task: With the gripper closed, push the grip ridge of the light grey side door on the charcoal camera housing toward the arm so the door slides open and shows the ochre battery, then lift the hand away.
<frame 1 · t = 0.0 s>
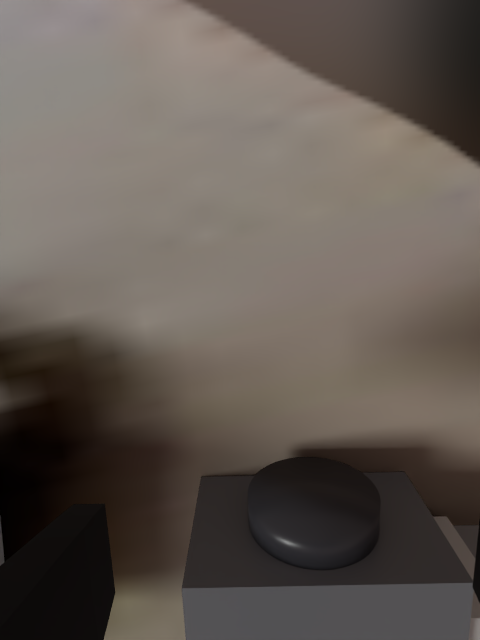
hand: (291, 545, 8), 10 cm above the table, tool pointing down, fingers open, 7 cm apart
camera housing: (313, 637, 21), on the table
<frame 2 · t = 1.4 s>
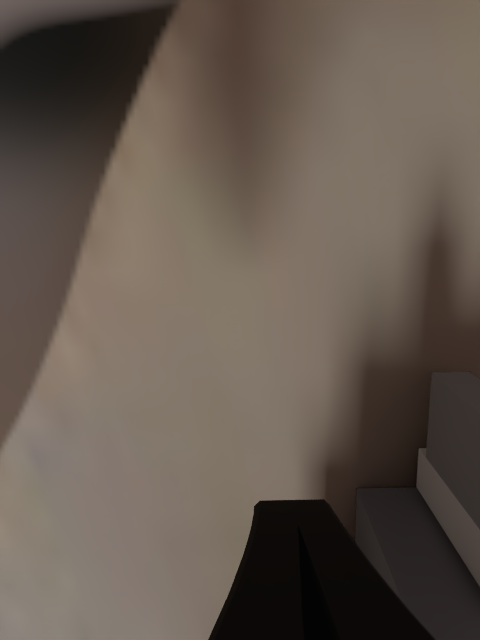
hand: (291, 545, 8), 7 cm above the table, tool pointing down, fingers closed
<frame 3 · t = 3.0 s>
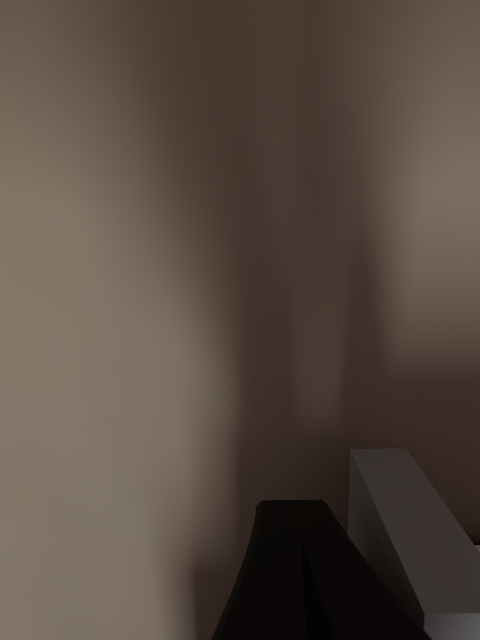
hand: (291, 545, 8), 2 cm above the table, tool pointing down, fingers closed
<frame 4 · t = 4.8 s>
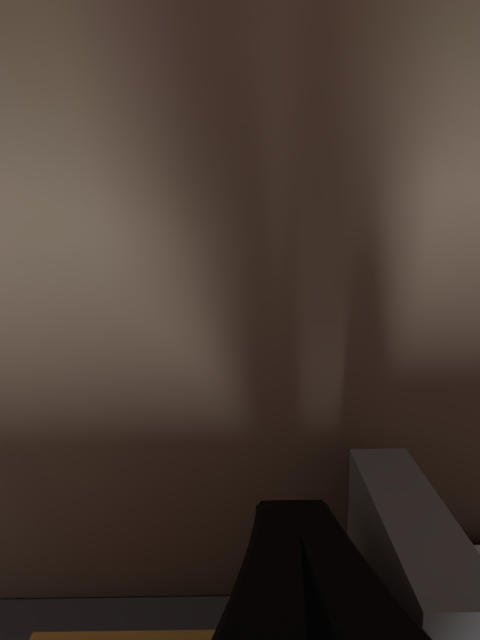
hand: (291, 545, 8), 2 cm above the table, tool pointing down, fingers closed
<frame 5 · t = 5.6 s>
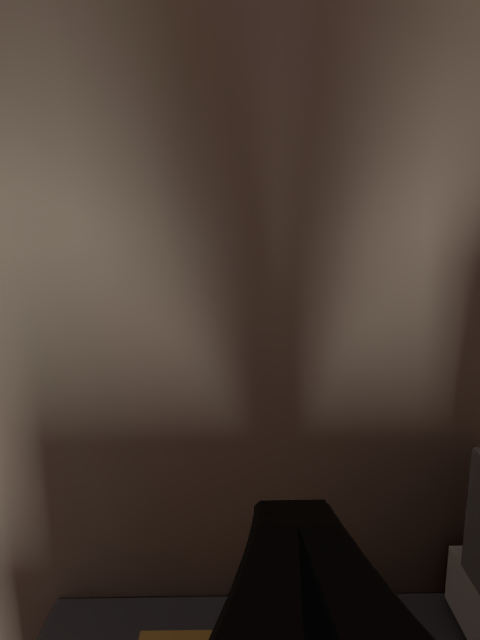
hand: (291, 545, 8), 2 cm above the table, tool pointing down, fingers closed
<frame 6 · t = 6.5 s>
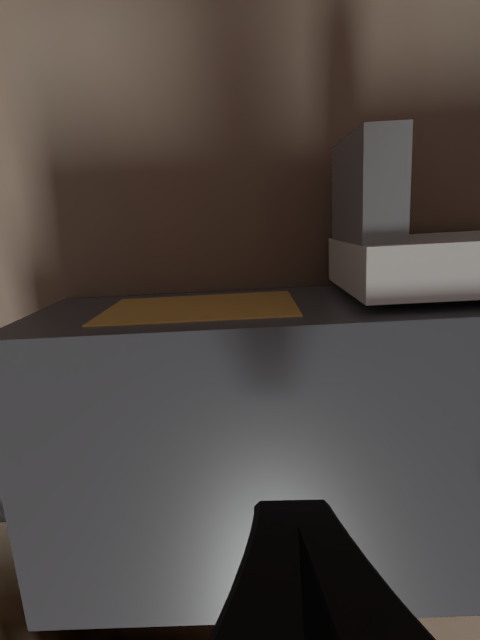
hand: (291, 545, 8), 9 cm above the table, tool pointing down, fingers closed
camera housing: (300, 385, 17), on the table
camera door: (477, 209, 13), point 3 cm above the table, slide at 8.1 cm
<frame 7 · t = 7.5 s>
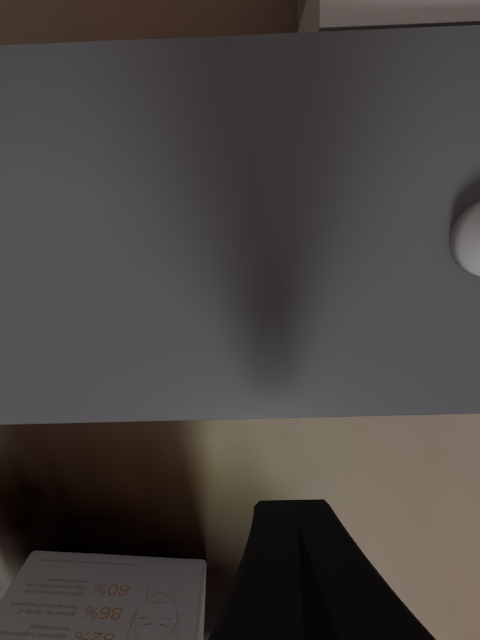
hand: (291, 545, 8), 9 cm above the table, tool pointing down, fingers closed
camera housing: (265, 221, 16), on the table
small box: (122, 597, 20), on the table
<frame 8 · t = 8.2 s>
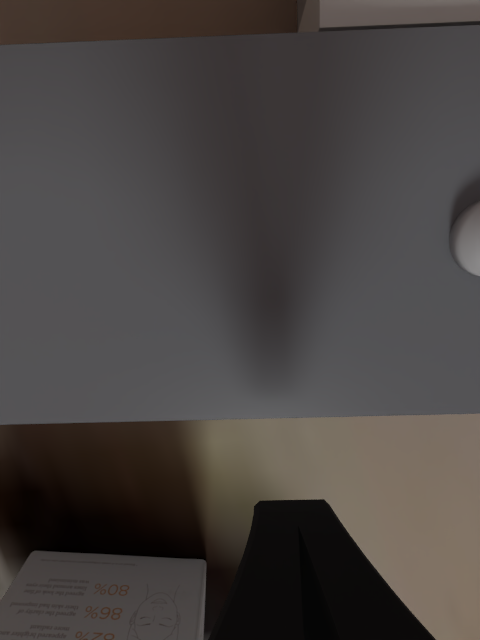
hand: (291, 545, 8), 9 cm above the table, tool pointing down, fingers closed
camera housing: (265, 221, 16), on the table
small box: (122, 597, 20), on the table
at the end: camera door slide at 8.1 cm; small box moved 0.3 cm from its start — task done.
